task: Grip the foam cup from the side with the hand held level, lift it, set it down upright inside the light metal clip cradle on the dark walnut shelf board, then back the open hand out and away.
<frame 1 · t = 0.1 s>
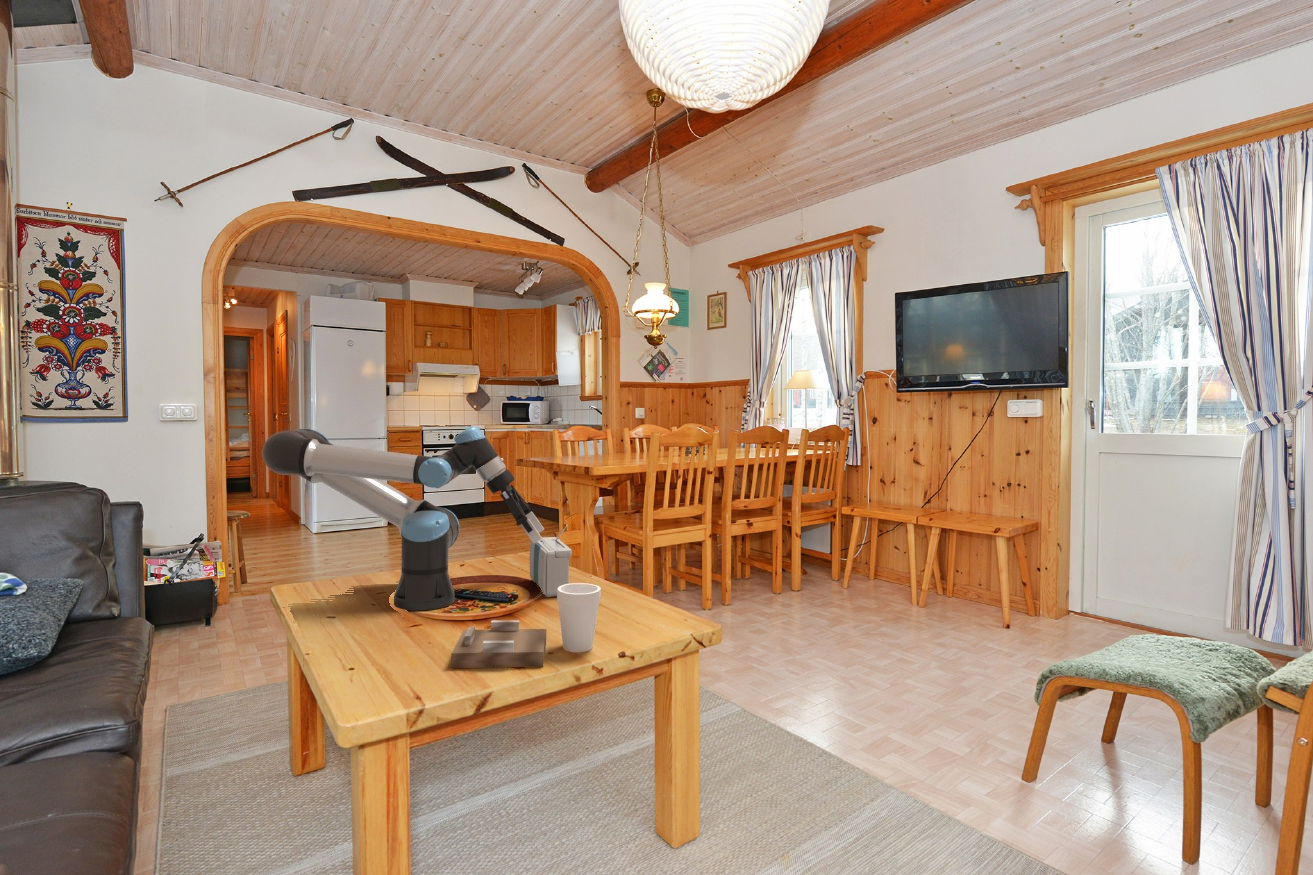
hand: (539, 536, 195), 15 cm above the table, tool tilted 35°, fingers open, 13 cm apart
foam cup: (577, 648, 150), on the table
stereo radio cassette player: (549, 589, 197), on the table
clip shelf: (501, 654, 144), on the table
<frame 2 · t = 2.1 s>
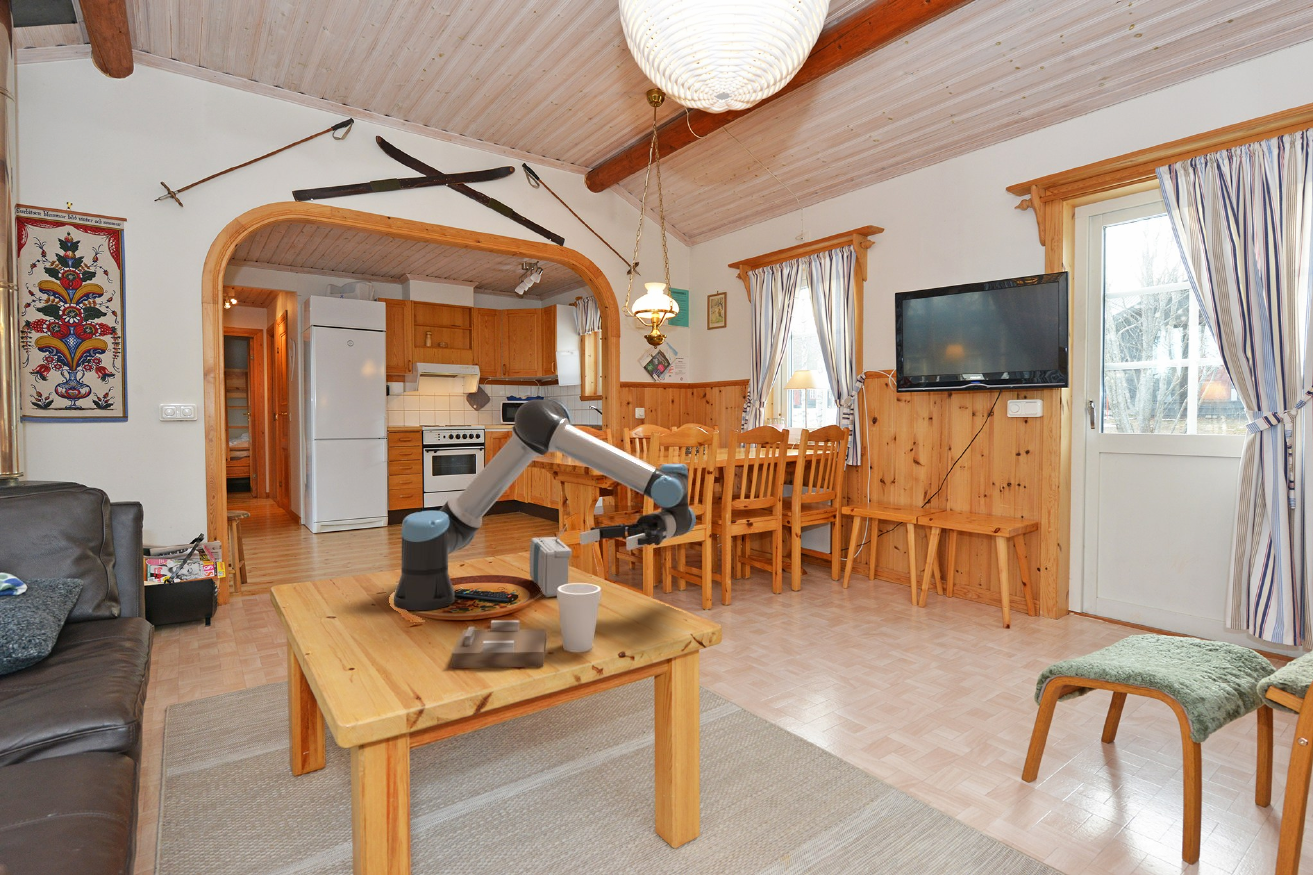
hand: (603, 541, 157), 22 cm above the table, tool horizontal, fingers open, 13 cm apart
nothing on the table moved.
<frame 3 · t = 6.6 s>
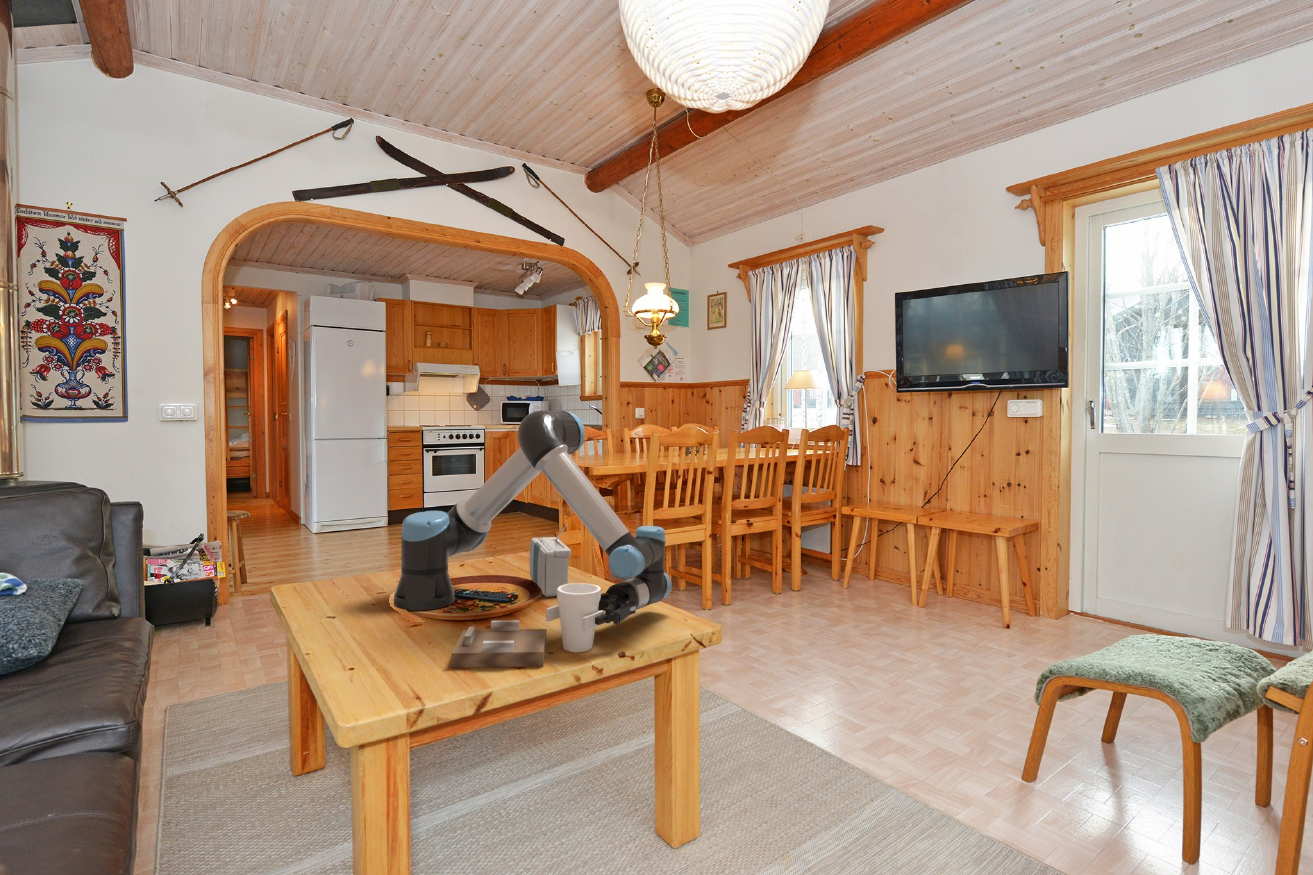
hand: (565, 619, 146), 7 cm above the table, tool horizontal, fingers closed on foam cup, 9 cm apart
foam cup: (577, 647, 150), on the table, touching gripper
everything else where it was.
when the fingers open (12 cm above the table, at t = 11.0 s): foam cup drops 1 cm, resting on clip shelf.
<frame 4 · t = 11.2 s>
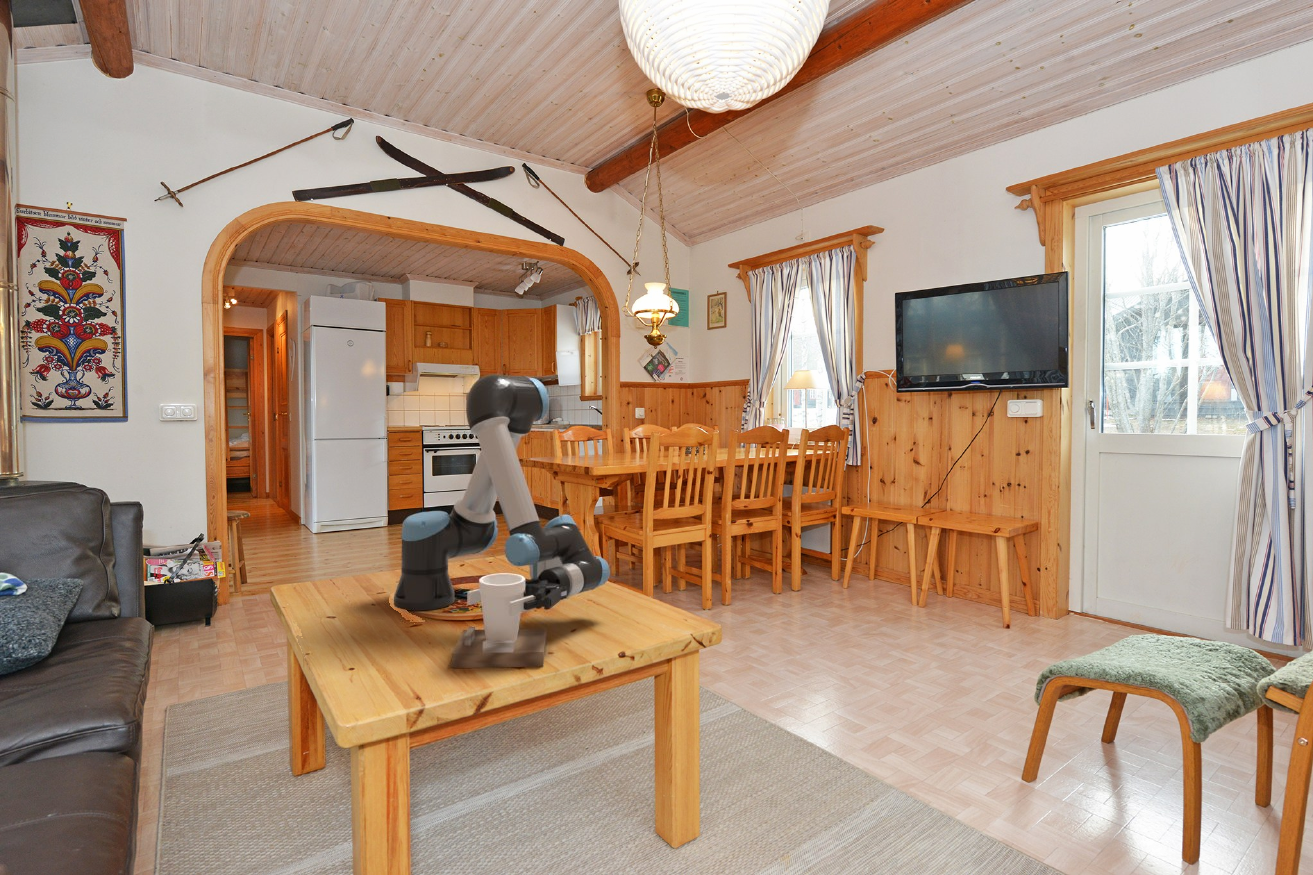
hand: (488, 603, 140), 12 cm above the table, tool horizontal, fingers open, 11 cm apart
foam cup: (501, 640, 144), point 3 cm above the table, touching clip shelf
everything else where it was.
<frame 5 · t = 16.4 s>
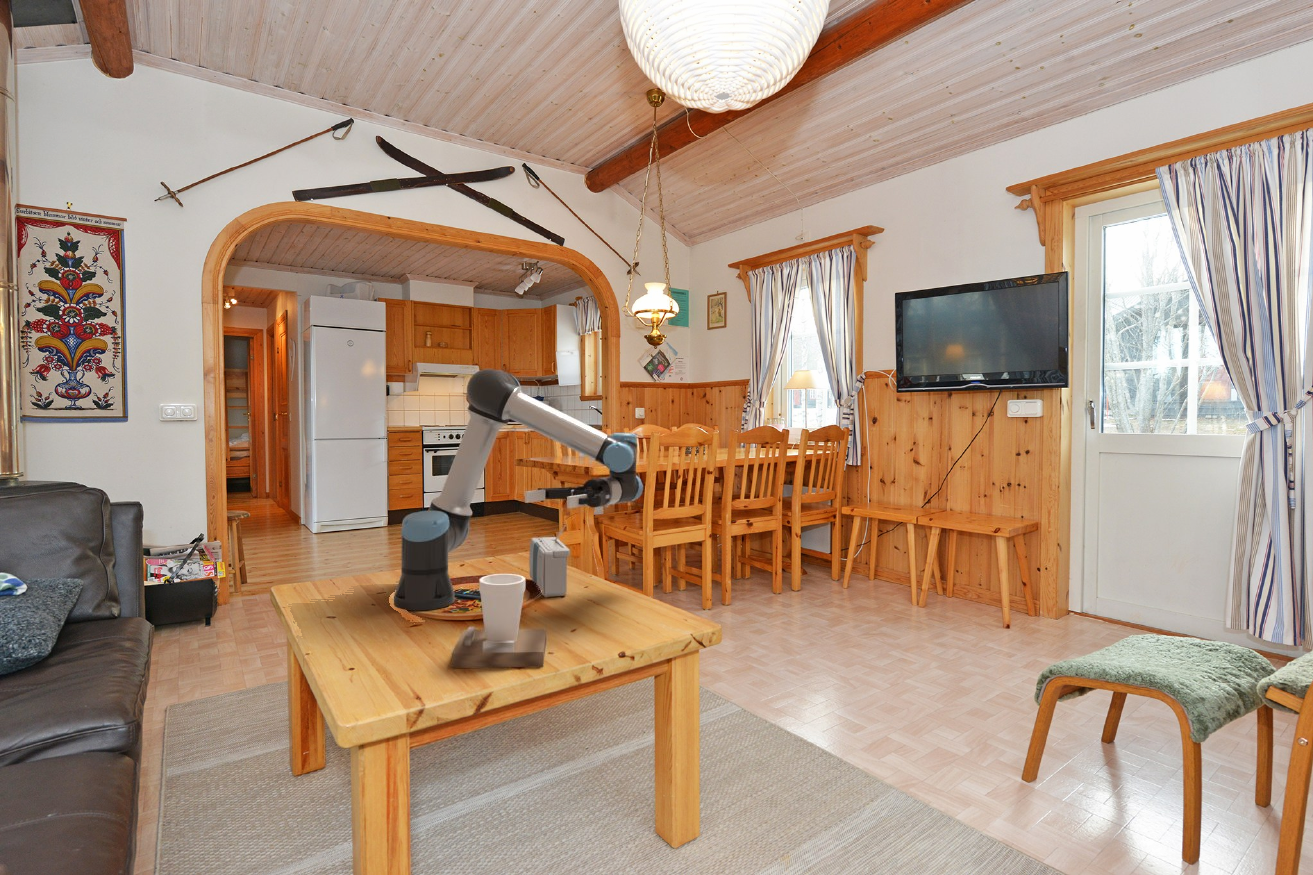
hand: (546, 499, 165), 30 cm above the table, tool horizontal, fingers open, 13 cm apart
nothing on the table moved.
at the end: foam cup 0.1 cm off-centre on the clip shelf, point 2.8 cm above the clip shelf's base; foam cup tilted 0°; the gripper is holding nothing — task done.
